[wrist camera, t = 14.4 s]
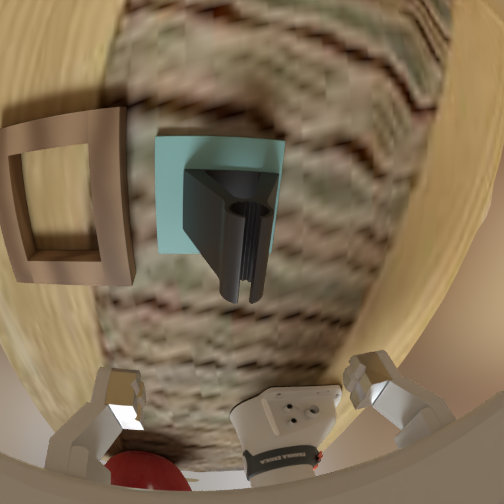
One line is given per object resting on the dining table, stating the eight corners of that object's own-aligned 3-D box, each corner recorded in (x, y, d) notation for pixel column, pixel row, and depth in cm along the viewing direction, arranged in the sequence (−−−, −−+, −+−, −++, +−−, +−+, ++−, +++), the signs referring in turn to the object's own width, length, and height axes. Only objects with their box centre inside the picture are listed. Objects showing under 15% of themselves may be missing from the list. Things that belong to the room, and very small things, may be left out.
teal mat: (282, 140, 26) (285, 141, 25) (269, 249, 32) (271, 253, 31) (156, 135, 24) (155, 136, 23) (159, 249, 30) (158, 253, 29)
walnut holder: (126, 106, 22) (119, 106, 20) (136, 273, 30) (132, 286, 28) (0, 129, 19) (-12, 132, 17) (25, 271, 27) (17, 282, 25)
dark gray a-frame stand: (182, 227, 28) (174, 304, 18) (183, 168, 25) (170, 215, 15) (270, 229, 30) (308, 302, 19) (278, 173, 27) (328, 221, 16)
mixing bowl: (83, 430, 47) (76, 485, 34) (200, 445, 55) (206, 502, 41) (103, 464, 60) (101, 505, 47) (191, 474, 67) (196, 515, 54)
